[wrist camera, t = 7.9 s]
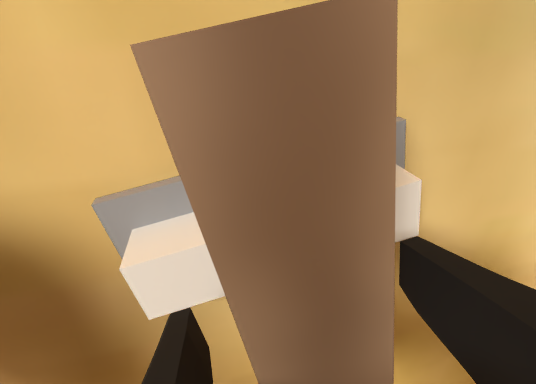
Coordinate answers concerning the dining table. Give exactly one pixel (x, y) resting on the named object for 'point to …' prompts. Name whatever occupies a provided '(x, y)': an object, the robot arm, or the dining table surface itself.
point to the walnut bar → (292, 179)
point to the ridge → (198, 238)
